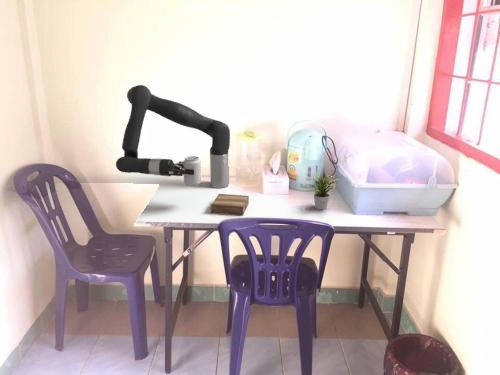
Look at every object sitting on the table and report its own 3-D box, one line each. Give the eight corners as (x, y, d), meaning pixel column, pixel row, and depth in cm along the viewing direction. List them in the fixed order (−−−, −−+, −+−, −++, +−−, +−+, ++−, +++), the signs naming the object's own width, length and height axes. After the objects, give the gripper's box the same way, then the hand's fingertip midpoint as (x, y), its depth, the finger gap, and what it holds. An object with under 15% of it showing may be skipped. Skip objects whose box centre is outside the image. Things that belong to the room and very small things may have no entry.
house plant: (330, 217, 187) (333, 181, 182) (300, 210, 193) (302, 175, 188) (340, 206, 199) (343, 172, 194) (312, 201, 205) (314, 168, 200)
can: (198, 186, 189) (197, 160, 185) (181, 185, 190) (180, 159, 186) (203, 181, 196) (202, 155, 192) (187, 180, 197) (186, 154, 193)
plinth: (219, 201, 203) (219, 193, 202) (248, 204, 201) (248, 195, 199) (211, 212, 190) (211, 204, 189) (242, 215, 188) (242, 206, 186)
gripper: (154, 163, 185) (191, 165, 183) (166, 154, 199) (201, 157, 196) (155, 180, 188) (192, 182, 185) (167, 170, 201) (201, 173, 198)
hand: (196, 169), depth 191 cm, fingers closed on can, 7 cm apart
